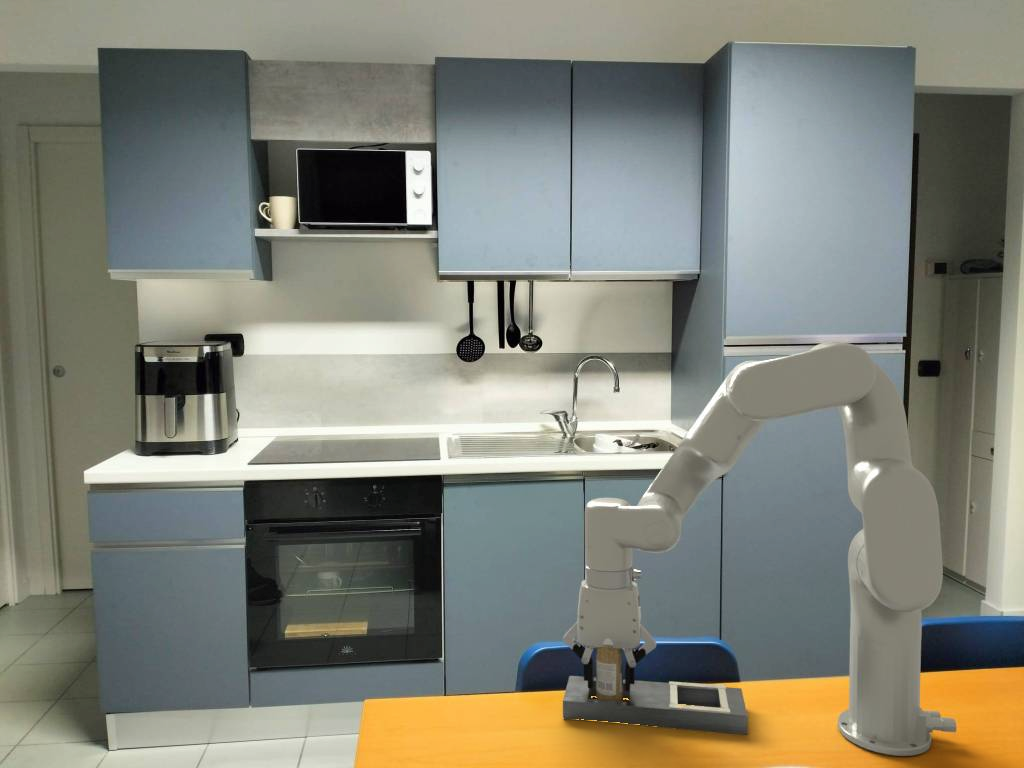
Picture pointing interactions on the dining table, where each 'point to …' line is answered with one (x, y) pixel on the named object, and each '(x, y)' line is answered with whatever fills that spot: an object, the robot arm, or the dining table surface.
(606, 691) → the sprinkles bottle
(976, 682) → the dining table surface
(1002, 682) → the dining table surface
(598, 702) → the rail
